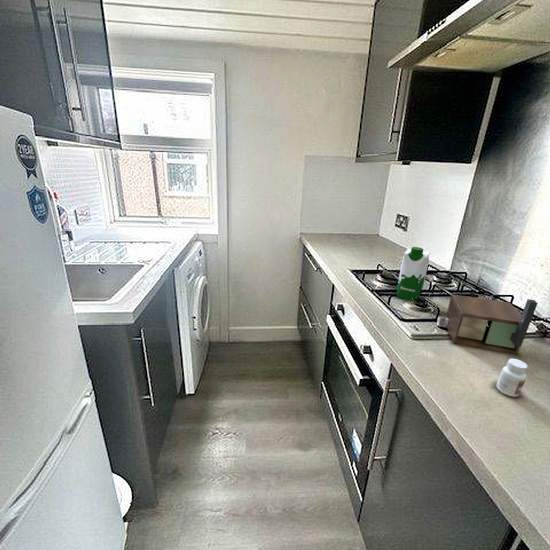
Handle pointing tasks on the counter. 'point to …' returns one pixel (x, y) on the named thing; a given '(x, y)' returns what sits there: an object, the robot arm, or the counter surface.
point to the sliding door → (511, 329)
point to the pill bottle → (512, 377)
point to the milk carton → (412, 273)
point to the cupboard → (479, 321)
